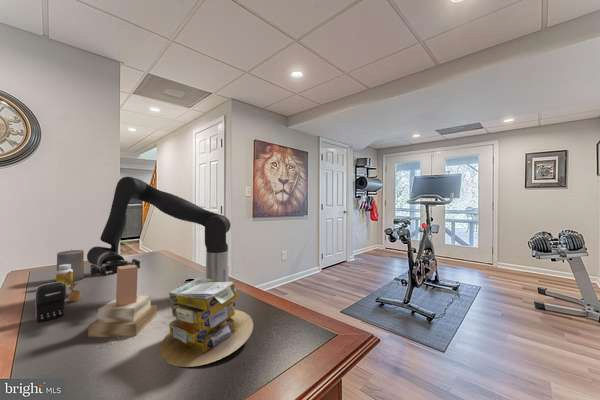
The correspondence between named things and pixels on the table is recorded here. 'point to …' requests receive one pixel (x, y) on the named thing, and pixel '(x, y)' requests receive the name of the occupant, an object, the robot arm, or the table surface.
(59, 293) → the battery charger
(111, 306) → the birch top block
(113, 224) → the robot arm
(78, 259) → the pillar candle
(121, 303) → the terracotta post
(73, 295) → the figurine
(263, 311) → the table surface
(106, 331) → the oak base block
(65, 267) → the supplement bottle
